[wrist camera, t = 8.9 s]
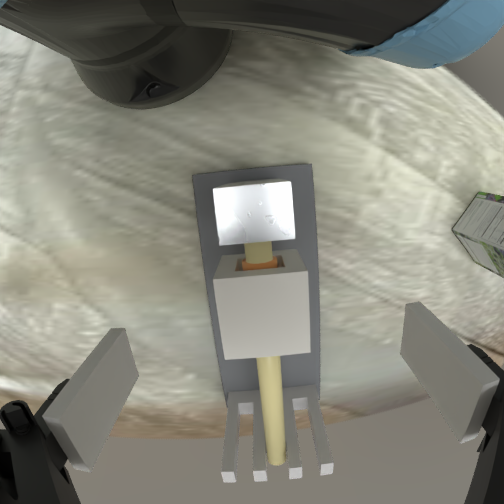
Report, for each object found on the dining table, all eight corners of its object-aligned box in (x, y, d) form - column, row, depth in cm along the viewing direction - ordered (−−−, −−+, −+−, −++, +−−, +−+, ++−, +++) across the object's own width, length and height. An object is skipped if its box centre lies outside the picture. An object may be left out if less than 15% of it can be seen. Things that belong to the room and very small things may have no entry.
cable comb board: (195, 174, 28) (152, 177, 16) (308, 164, 28) (348, 158, 16) (227, 399, 34) (218, 486, 22) (317, 391, 33) (339, 476, 21)
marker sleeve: (222, 255, 22) (212, 279, 17) (296, 249, 22) (307, 270, 17) (230, 322, 23) (224, 359, 18) (300, 316, 23) (310, 352, 18)
